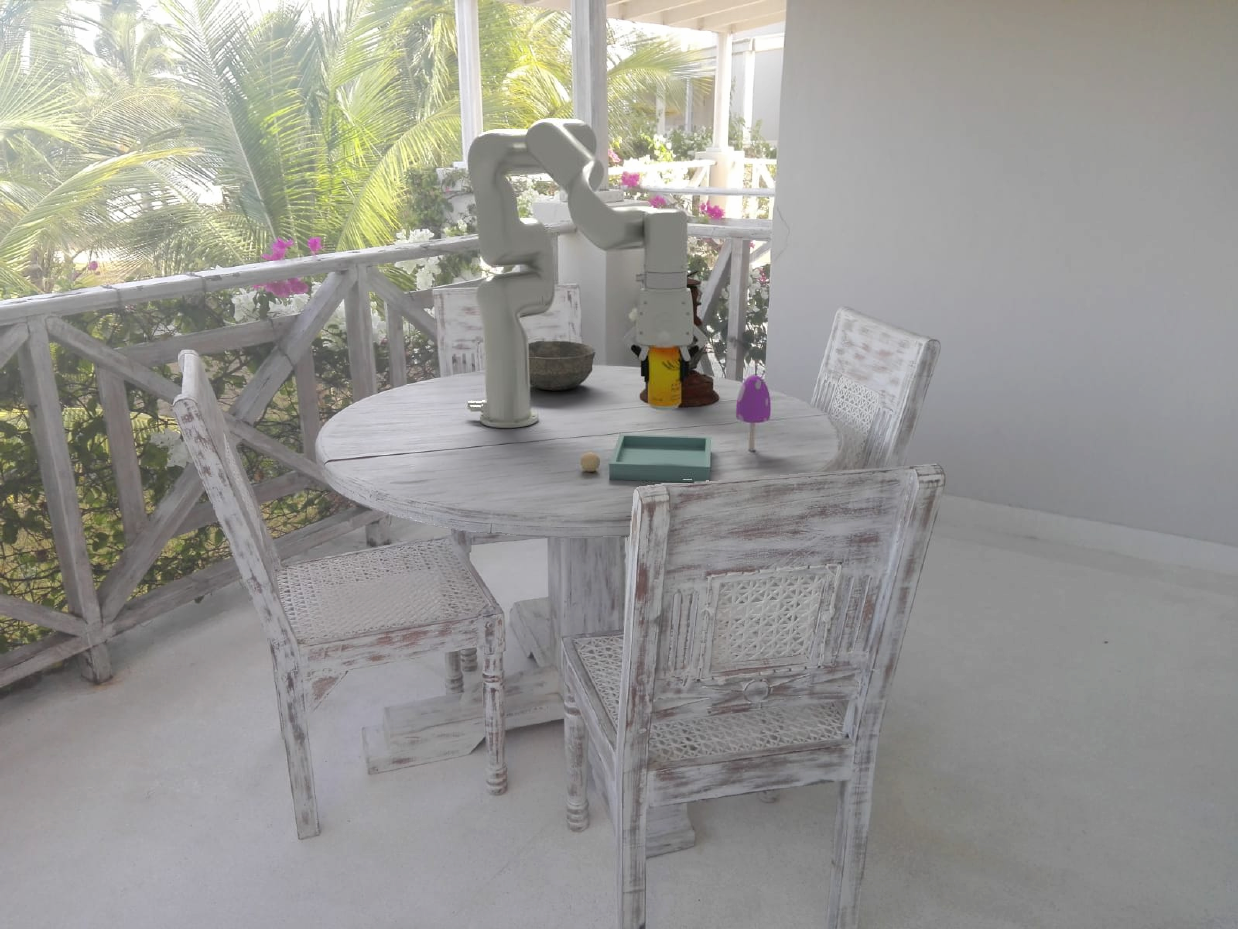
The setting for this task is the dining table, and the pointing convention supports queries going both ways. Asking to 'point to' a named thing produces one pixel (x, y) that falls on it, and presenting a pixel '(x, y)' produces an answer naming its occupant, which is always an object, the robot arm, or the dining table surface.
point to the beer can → (664, 374)
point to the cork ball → (590, 461)
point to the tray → (661, 458)
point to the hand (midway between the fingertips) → (664, 379)
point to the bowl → (559, 364)
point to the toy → (753, 404)
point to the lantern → (693, 366)
